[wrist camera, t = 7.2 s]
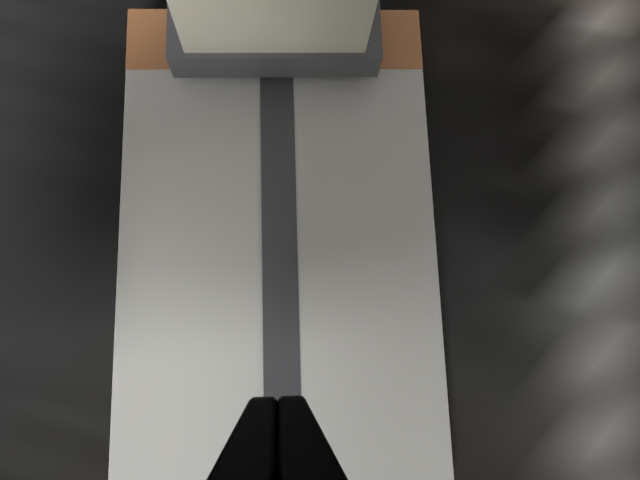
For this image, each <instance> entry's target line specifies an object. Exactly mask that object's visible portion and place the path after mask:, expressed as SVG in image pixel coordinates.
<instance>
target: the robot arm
mask: <svg viewBox="0 0 640 480" xmlns="http://www.w3.org/2000/svg"><path fill="white" fill-rule="evenodd" d="M207 480H348V478H347V477H346V475H345V473H344V471H343V469H342V467H341V465H340V463H339V461H338V459H337V458H336V456H335V454H334V452H333V450H332V448H331V446H330V444H329V442H328V441H327V439H326V437H325V435H324V433H323V431H322V429H321V427H320V425H319V424H318V422H317V420H316V418H315V416H314V414H313V412H312V410H311V408H310V407H309V405H308V403H307V401H306V399H305V398H304V397H303V396H301V395H290V396H280V397H279V398H278V400H277V399H276V398H275V397H274V396H263V397H252V398H251V399H250V400H249V401H248V403H247V405H246V407H245V409H244V410H243V412H242V414H241V416H240V418H239V420H238V422H237V424H236V425H235V427H234V429H233V431H232V433H231V435H230V437H229V438H228V440H227V442H226V444H225V446H224V448H223V450H222V452H221V453H220V455H219V457H218V459H217V461H216V463H215V465H214V466H213V468H212V470H211V472H210V474H209V476H208V478H207Z"/></svg>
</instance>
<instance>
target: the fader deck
mask: <svg viewBox="0 0 640 480" xmlns="http://www.w3.org/2000/svg"><path fill="white" fill-rule="evenodd" d="M380 13H381V29H382V46H383V60H382V63H381V67H380V70H379V73H378V76H377V77H242V78H173V75H172V73H171V70H170V68H169V65H168V63H167V60H166V23H167V9H128V19H127V42H126V65H125V69H126V77H125V101H124V124H123V147H122V171H121V194H120V217H119V241H118V264H117V288H116V311H115V334H114V358H113V381H112V404H111V428H110V451H109V474H108V480H207V478H208V476H209V474H210V472H211V470H212V468H213V466H214V465H215V463H216V461H217V459H218V457H219V455H220V453H221V452H222V450H223V448H224V446H225V444H226V442H227V440H228V438H229V437H230V435H231V433H232V431H233V429H234V427H235V425H236V424H237V422H238V420H239V418H240V416H241V414H242V412H243V410H244V409H245V407H246V405H247V403H248V401H249V400H250V399H251V398H252V397H263V396H274V397H275V398H276V399H277V400H278V398H279V397H280V396H290V395H301V396H303V397H304V398H305V399H306V401H307V403H308V405H309V407H310V408H311V410H312V412H313V414H314V416H315V418H316V420H317V422H318V424H319V425H320V427H321V429H322V431H323V433H324V435H325V437H326V439H327V441H328V442H329V444H330V446H331V448H332V450H333V452H334V454H335V456H336V458H337V459H338V461H339V463H340V465H341V467H342V469H343V471H344V473H345V475H346V477H347V478H348V480H454V473H453V460H452V446H451V433H450V420H449V407H448V394H447V381H446V368H445V355H444V342H443V329H442V316H441V303H440V290H439V277H438V264H437V251H436V238H435V225H434V211H433V198H432V185H431V172H430V159H429V146H428V133H427V120H426V107H425V94H424V81H423V62H422V49H421V36H420V23H419V10H380Z"/></svg>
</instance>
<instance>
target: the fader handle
mask: <svg viewBox="0 0 640 480" xmlns="http://www.w3.org/2000/svg"><path fill="white" fill-rule="evenodd" d="M166 1H167V23H166V60H167V63H168V65H169V68H170V70H171V73H172V75H173V78H242V77H377V76H378V73H379V70H380V67H381V63H382V60H383V46H382V29H381V13H380V0H166Z"/></svg>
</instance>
